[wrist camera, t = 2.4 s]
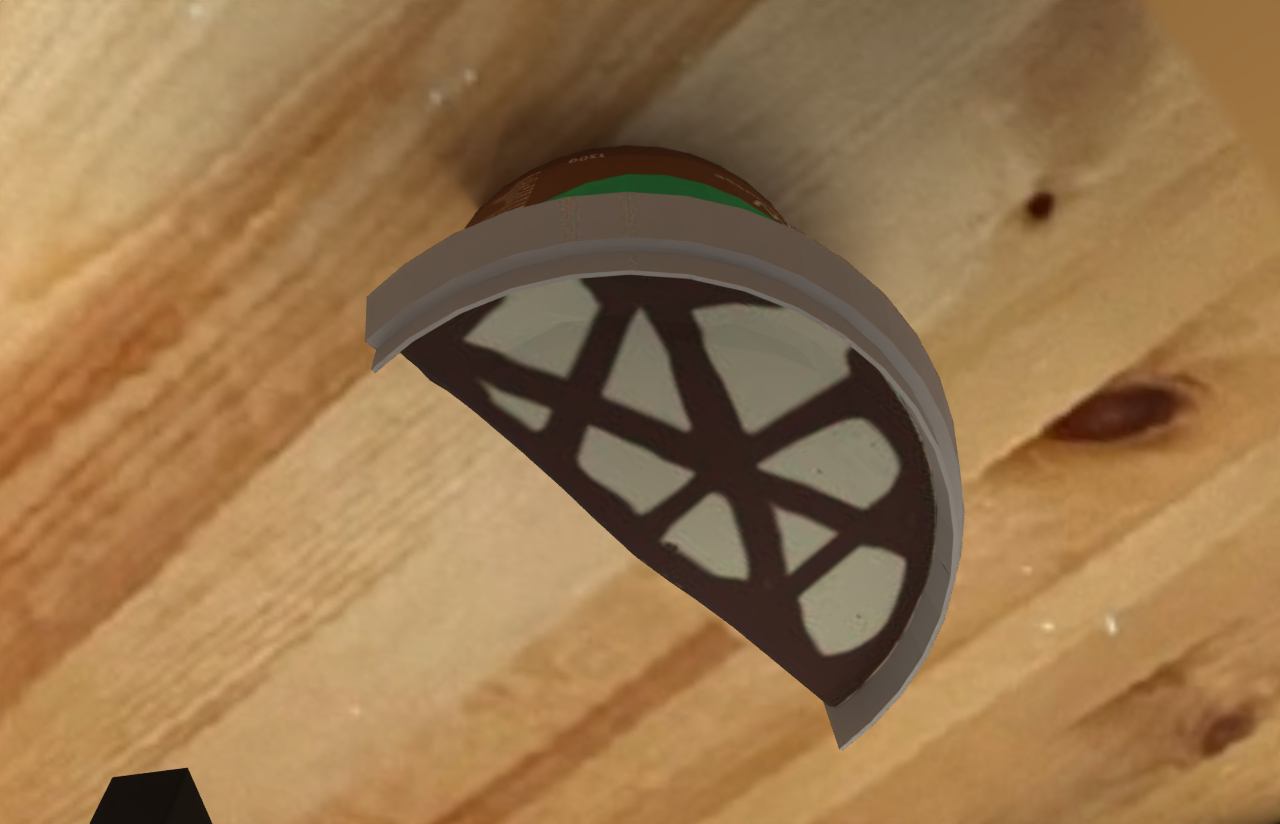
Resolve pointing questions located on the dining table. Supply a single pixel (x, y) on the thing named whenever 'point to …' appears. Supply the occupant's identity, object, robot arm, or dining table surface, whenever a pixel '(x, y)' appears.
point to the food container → (707, 404)
